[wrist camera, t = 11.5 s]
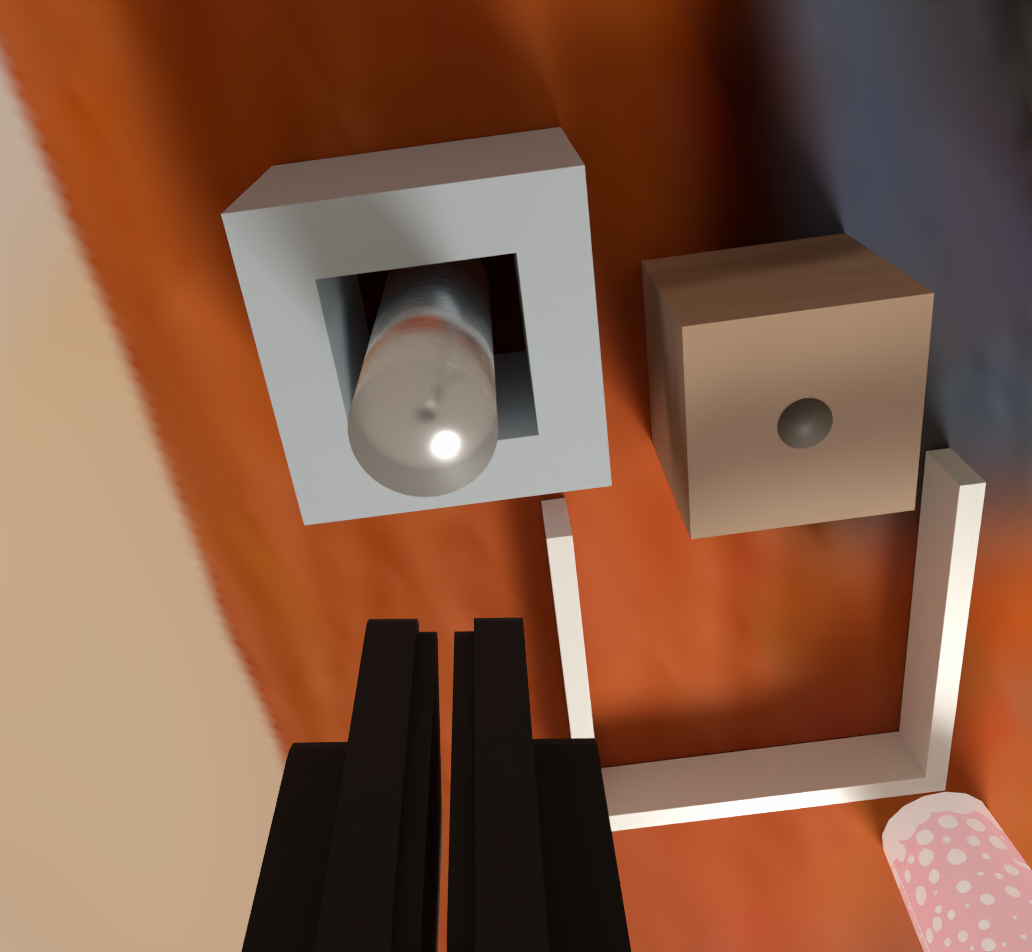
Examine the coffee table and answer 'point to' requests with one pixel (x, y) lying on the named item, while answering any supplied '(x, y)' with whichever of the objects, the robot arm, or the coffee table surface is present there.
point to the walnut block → (786, 383)
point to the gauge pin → (428, 382)
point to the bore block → (414, 242)
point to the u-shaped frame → (824, 764)
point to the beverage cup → (959, 876)
